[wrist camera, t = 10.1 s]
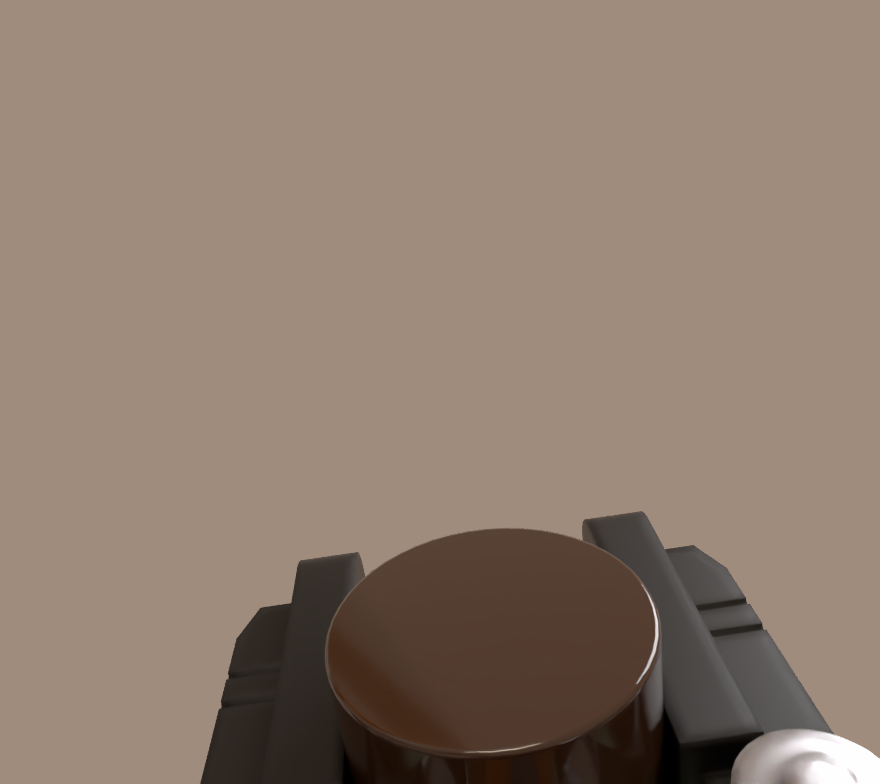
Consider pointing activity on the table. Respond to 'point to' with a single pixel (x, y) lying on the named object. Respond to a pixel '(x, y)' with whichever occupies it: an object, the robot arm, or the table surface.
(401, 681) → the pot lid
